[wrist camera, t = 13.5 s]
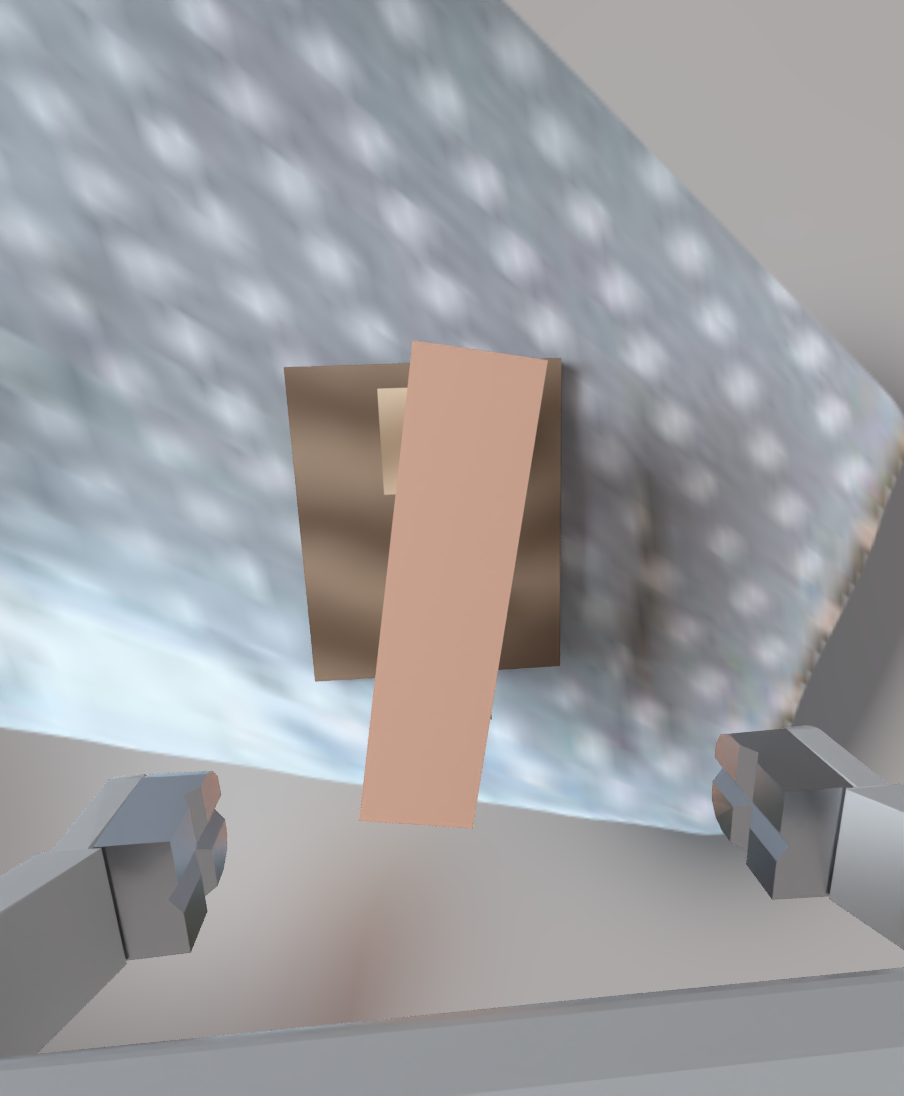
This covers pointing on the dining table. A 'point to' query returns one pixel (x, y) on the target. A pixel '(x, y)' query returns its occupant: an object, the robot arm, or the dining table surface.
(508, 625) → the wooden post stand
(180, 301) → the dining table surface
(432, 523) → the beam
